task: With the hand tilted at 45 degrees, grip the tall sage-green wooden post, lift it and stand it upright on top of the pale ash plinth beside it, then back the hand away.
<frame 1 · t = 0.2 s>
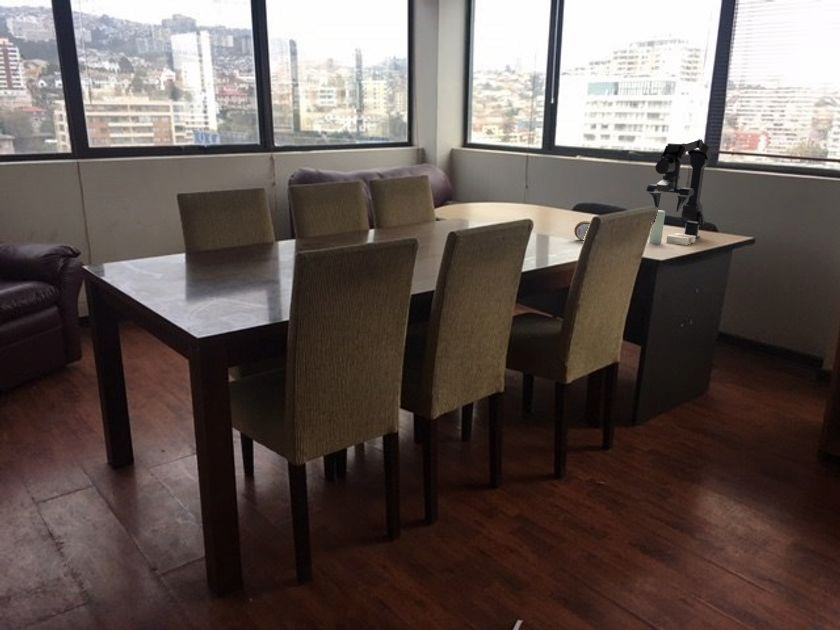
hand: (667, 210, 293), 15 cm above the table, tool pointing down, fingers open, 9 cm apart
tin: (591, 241, 303), on the table
post: (655, 242, 301), on the table
plinth: (680, 242, 303), on the table
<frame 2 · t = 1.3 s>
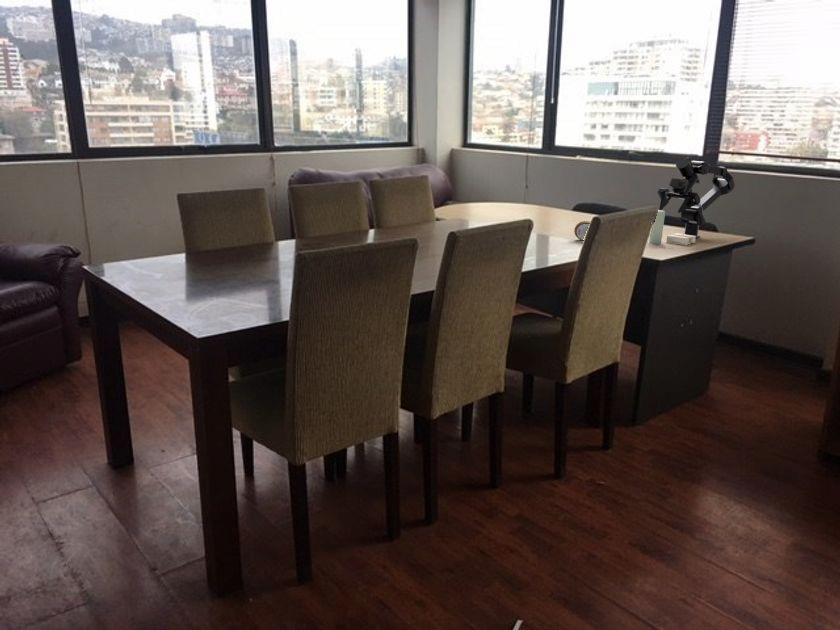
hand: (669, 211, 301), 13 cm above the table, tool tilted 45°, fingers open, 9 cm apart
nothing on the table moved.
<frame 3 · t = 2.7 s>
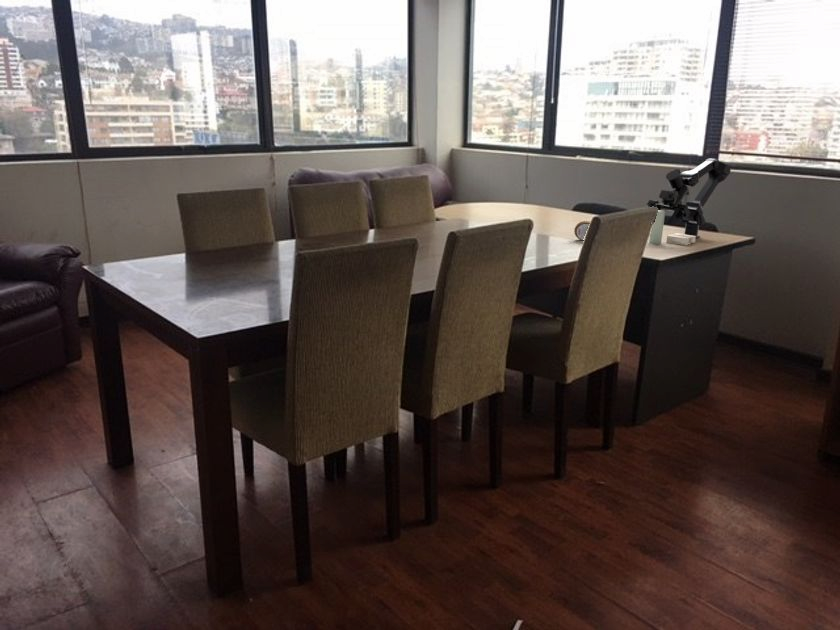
hand: (658, 222, 299), 9 cm above the table, tool tilted 45°, fingers open, 9 cm apart
nothing on the table moved.
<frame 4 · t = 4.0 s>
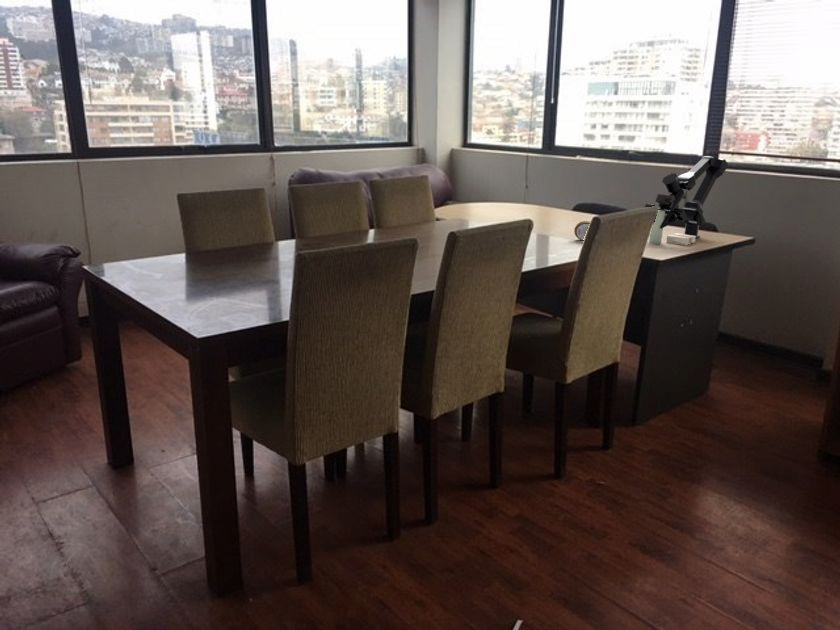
hand: (655, 227, 298), 7 cm above the table, tool tilted 45°, fingers closed on post, 5 cm apart
post: (655, 242, 301), on the table, touching gripper
everything else where it was.
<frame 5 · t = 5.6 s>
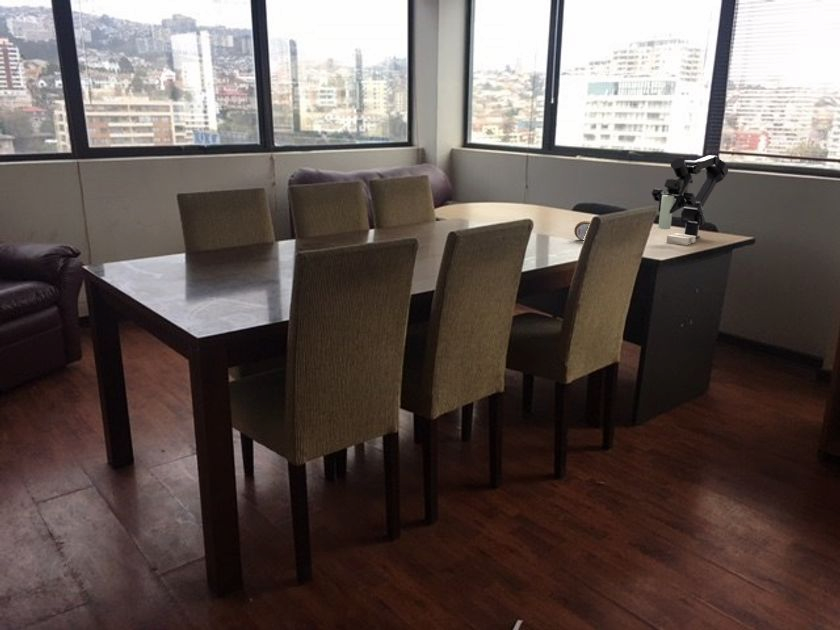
hand: (664, 212, 296), 14 cm above the table, tool tilted 45°, fingers closed on post, 5 cm apart
post: (664, 228, 299), point 7 cm above the table, touching gripper
everything else where it was.
when the fingers open (11 cm above the table, at t = 7.2 s): post drops 1 cm, resting on plinth.
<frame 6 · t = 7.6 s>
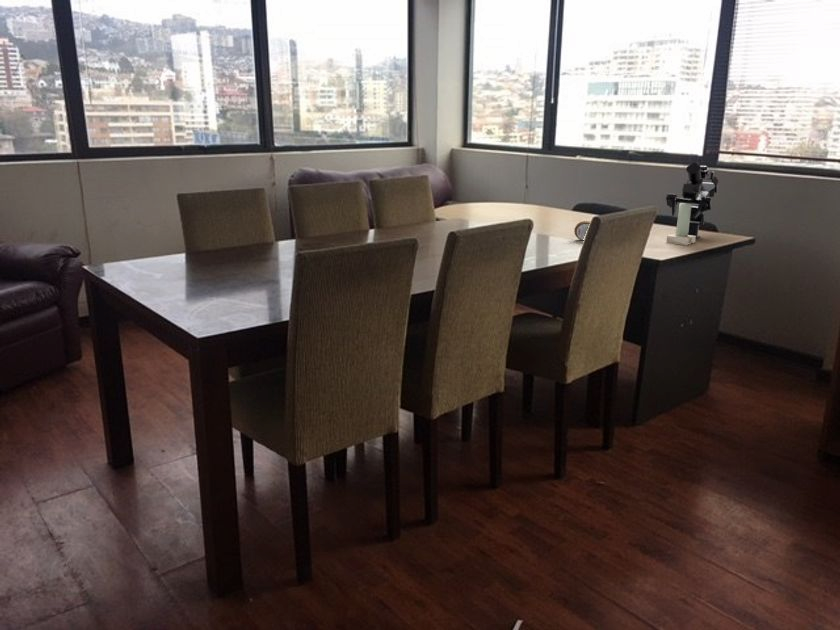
hand: (683, 216, 298), 12 cm above the table, tool tilted 45°, fingers open, 9 cm apart
post: (681, 235, 302), point 3 cm above the table, touching plinth
everything else where it was.
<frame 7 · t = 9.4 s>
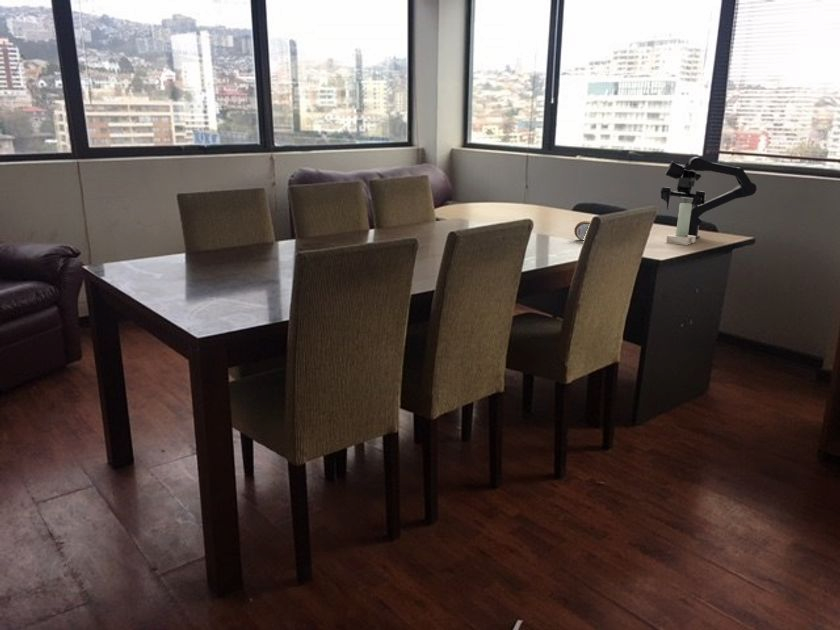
hand: (678, 210, 303), 14 cm above the table, tool tilted 45°, fingers open, 9 cm apart
nothing on the table moved.
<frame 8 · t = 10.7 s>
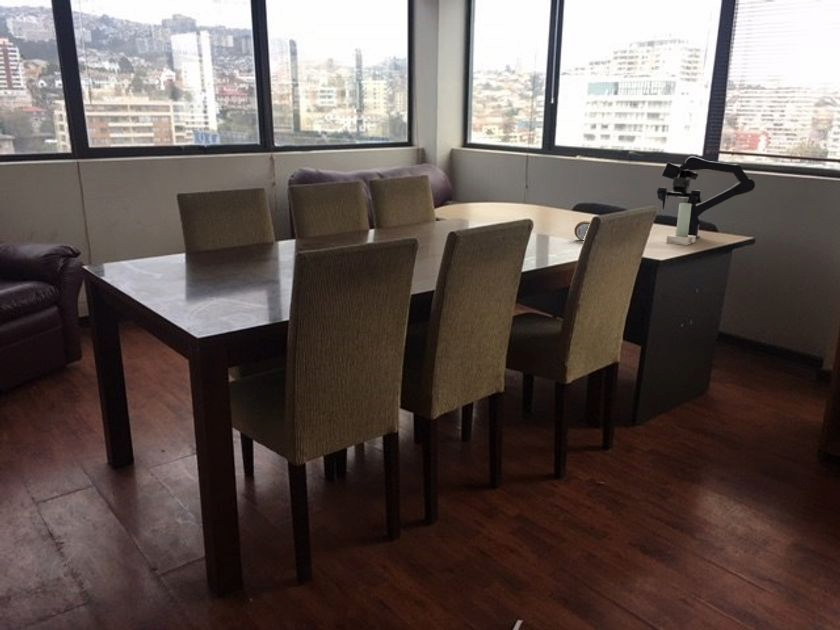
hand: (673, 209, 304), 14 cm above the table, tool tilted 45°, fingers open, 9 cm apart
post: (681, 235, 302), point 3 cm above the table, touching gripper, plinth
everything else where it was.
at the end: post 0.1 cm off-centre on the plinth, point 3.1 cm above the plinth's base; post tilted 1°; the gripper is holding nothing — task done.
